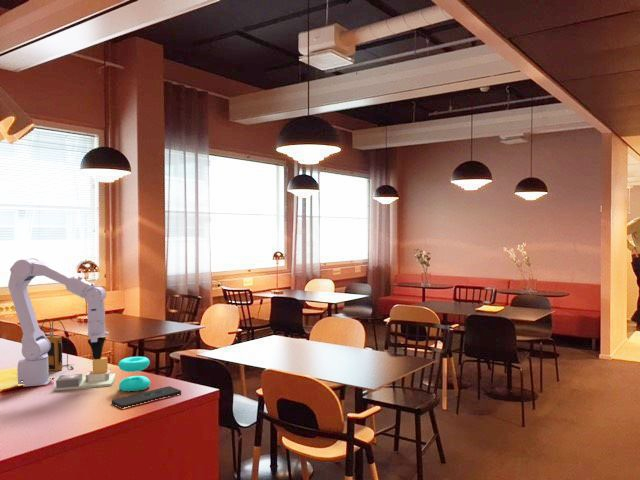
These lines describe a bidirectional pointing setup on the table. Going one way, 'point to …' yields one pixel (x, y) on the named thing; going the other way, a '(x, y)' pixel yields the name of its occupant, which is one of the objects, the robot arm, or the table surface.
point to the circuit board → (91, 383)
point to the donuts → (135, 381)
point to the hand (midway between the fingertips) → (97, 358)
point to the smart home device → (145, 396)
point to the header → (98, 376)
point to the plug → (100, 365)
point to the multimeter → (55, 351)
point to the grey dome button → (69, 381)
